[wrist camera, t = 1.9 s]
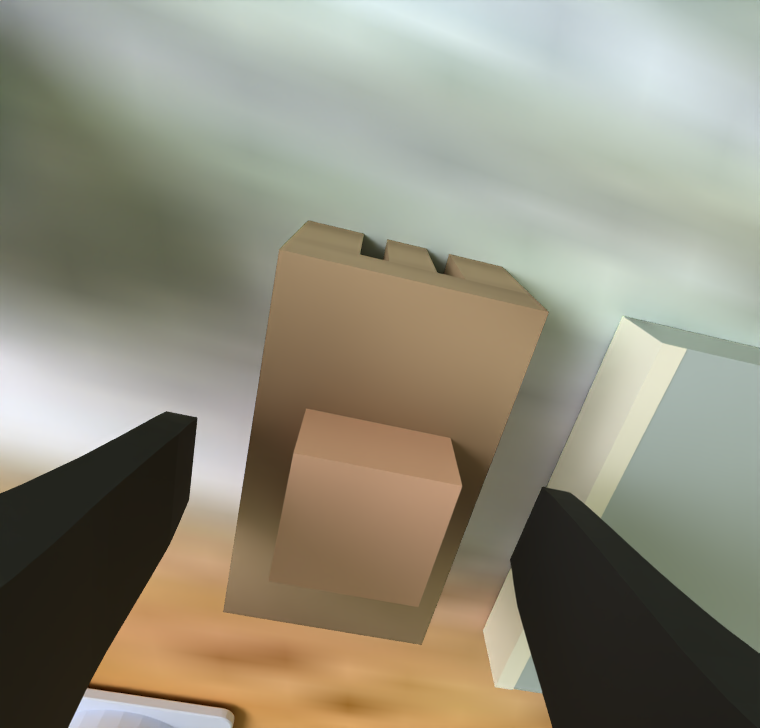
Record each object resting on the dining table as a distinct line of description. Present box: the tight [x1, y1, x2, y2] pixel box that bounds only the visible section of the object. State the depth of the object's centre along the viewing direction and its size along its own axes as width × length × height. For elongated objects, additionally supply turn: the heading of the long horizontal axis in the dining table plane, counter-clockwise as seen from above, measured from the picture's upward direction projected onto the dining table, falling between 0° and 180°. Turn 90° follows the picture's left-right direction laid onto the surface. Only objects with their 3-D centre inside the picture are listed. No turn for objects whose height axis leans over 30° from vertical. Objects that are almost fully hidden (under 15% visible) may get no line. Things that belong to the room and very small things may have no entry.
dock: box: [483, 316, 760, 693], centre depth 15 cm, size 12×10×2 cm
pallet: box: [223, 221, 549, 645], centre depth 13 cm, size 9×5×4 cm, turn 167°
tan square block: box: [268, 409, 462, 607], centre depth 10 cm, size 3×3×2 cm
